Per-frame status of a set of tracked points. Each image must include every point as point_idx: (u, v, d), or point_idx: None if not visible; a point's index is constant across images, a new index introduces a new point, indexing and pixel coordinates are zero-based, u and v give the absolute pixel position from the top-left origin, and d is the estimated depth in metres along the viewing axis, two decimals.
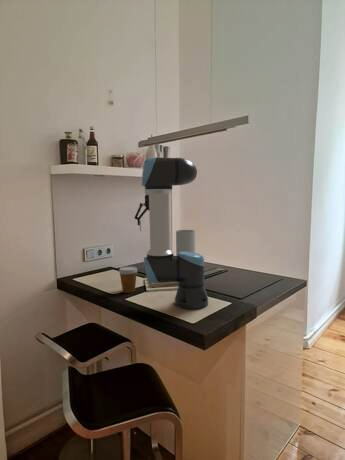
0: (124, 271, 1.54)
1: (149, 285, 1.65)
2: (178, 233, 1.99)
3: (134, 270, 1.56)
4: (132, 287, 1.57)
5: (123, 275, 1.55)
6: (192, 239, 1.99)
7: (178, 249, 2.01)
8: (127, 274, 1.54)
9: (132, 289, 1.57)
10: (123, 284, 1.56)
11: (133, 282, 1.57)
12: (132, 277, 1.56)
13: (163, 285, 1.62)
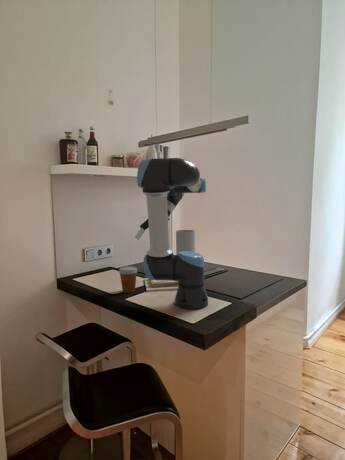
0: (124, 271, 1.54)
1: (149, 285, 1.65)
2: (178, 233, 1.99)
3: (134, 270, 1.56)
4: (132, 287, 1.57)
5: (123, 275, 1.55)
6: (192, 239, 1.99)
7: (178, 249, 2.01)
8: (127, 274, 1.54)
9: (132, 289, 1.57)
10: (123, 284, 1.56)
11: (133, 282, 1.57)
12: (132, 277, 1.56)
13: (163, 285, 1.62)
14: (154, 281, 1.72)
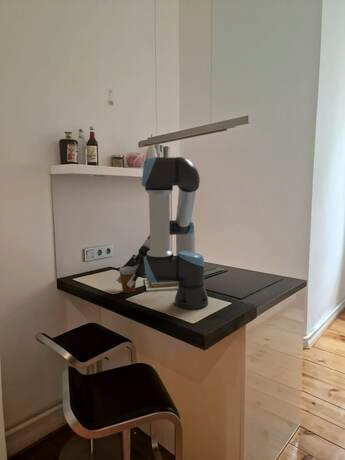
0: (124, 271, 1.54)
1: (149, 285, 1.65)
2: None
3: (134, 270, 1.56)
4: (132, 287, 1.57)
5: (123, 275, 1.55)
6: (192, 239, 1.99)
7: (178, 249, 2.01)
8: (127, 274, 1.54)
9: (132, 289, 1.57)
10: (123, 284, 1.56)
11: None
12: None
13: (163, 285, 1.62)
14: None
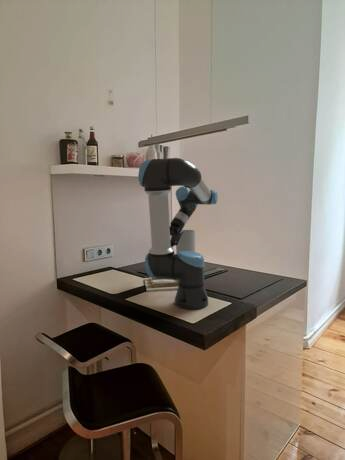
0: None
1: (149, 285, 1.65)
2: None
3: None
4: None
5: None
6: (192, 239, 1.99)
7: (178, 249, 2.01)
8: None
9: None
10: None
11: None
12: None
13: (163, 285, 1.62)
14: (154, 281, 1.72)
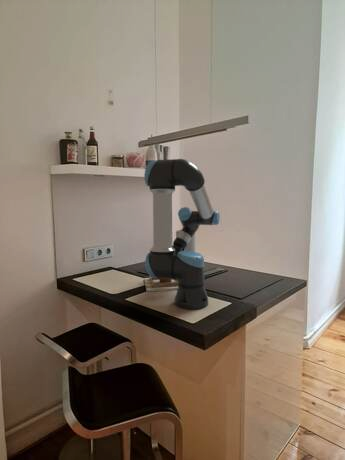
0: None
1: (149, 285, 1.65)
2: (178, 233, 1.99)
3: None
4: None
5: None
6: (192, 239, 1.99)
7: None
8: None
9: (169, 280, 1.68)
10: None
11: None
12: None
13: (163, 285, 1.62)
14: (154, 281, 1.72)
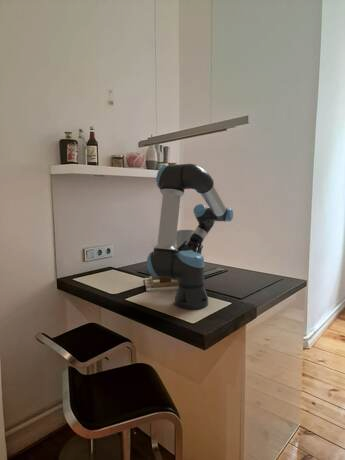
0: None
1: (149, 285, 1.65)
2: (178, 233, 1.99)
3: None
4: None
5: None
6: None
7: None
8: None
9: (169, 280, 1.68)
10: None
11: None
12: None
13: (163, 285, 1.62)
14: (154, 281, 1.72)
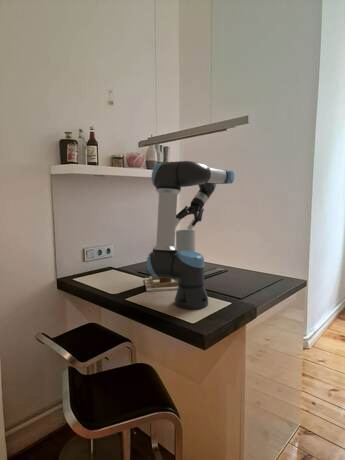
0: None
1: (149, 285, 1.65)
2: (178, 233, 1.99)
3: None
4: (169, 278, 1.67)
5: None
6: (192, 239, 1.99)
7: (178, 249, 2.01)
8: None
9: (169, 280, 1.68)
10: None
11: None
12: None
13: (163, 285, 1.62)
14: (154, 281, 1.72)
